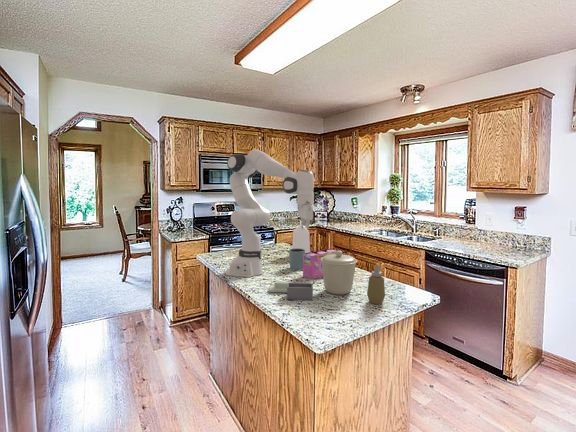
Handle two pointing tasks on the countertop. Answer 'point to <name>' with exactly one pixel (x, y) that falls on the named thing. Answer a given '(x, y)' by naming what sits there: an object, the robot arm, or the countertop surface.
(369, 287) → the squeeze bottle
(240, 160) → the robot arm
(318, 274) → the gum box
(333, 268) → the canister
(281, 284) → the lid
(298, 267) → the grey cup
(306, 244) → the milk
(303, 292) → the box
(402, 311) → the countertop surface
